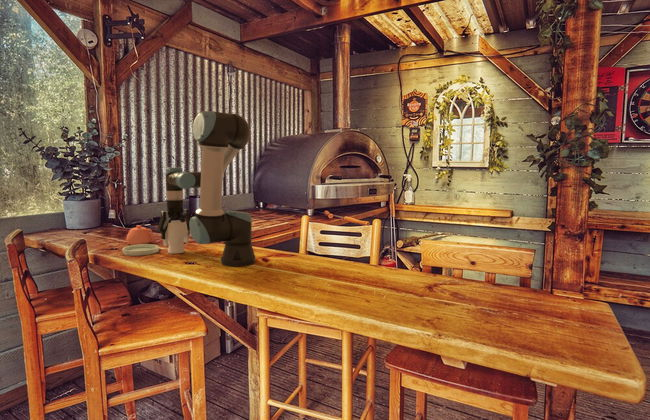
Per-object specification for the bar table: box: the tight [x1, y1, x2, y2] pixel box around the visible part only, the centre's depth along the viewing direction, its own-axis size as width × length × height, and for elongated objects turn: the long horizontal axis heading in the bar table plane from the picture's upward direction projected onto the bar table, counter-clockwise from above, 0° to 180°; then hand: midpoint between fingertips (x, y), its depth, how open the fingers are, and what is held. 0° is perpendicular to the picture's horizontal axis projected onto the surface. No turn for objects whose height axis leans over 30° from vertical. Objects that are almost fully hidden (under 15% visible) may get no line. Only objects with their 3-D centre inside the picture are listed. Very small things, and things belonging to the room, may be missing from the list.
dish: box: [121, 243, 160, 257], centre depth 192 cm, size 16×16×2 cm
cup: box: [166, 219, 187, 254], centre depth 192 cm, size 11×11×15 cm
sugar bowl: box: [125, 224, 155, 246], centre depth 209 cm, size 12×14×10 cm
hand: (176, 244), depth 192 cm, fingers closed on cup, 11 cm apart
